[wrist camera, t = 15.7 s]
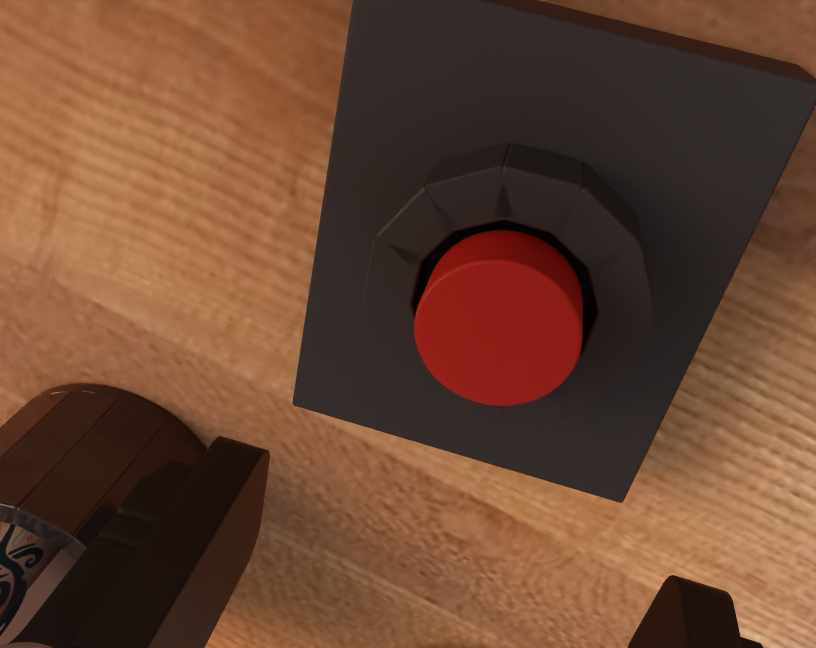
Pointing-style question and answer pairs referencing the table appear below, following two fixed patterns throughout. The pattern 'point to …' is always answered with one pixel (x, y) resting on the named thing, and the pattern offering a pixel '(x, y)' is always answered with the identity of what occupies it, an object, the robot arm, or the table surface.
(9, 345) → the table surface
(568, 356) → the button
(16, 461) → the holder
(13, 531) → the beer can
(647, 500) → the table surface
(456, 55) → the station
